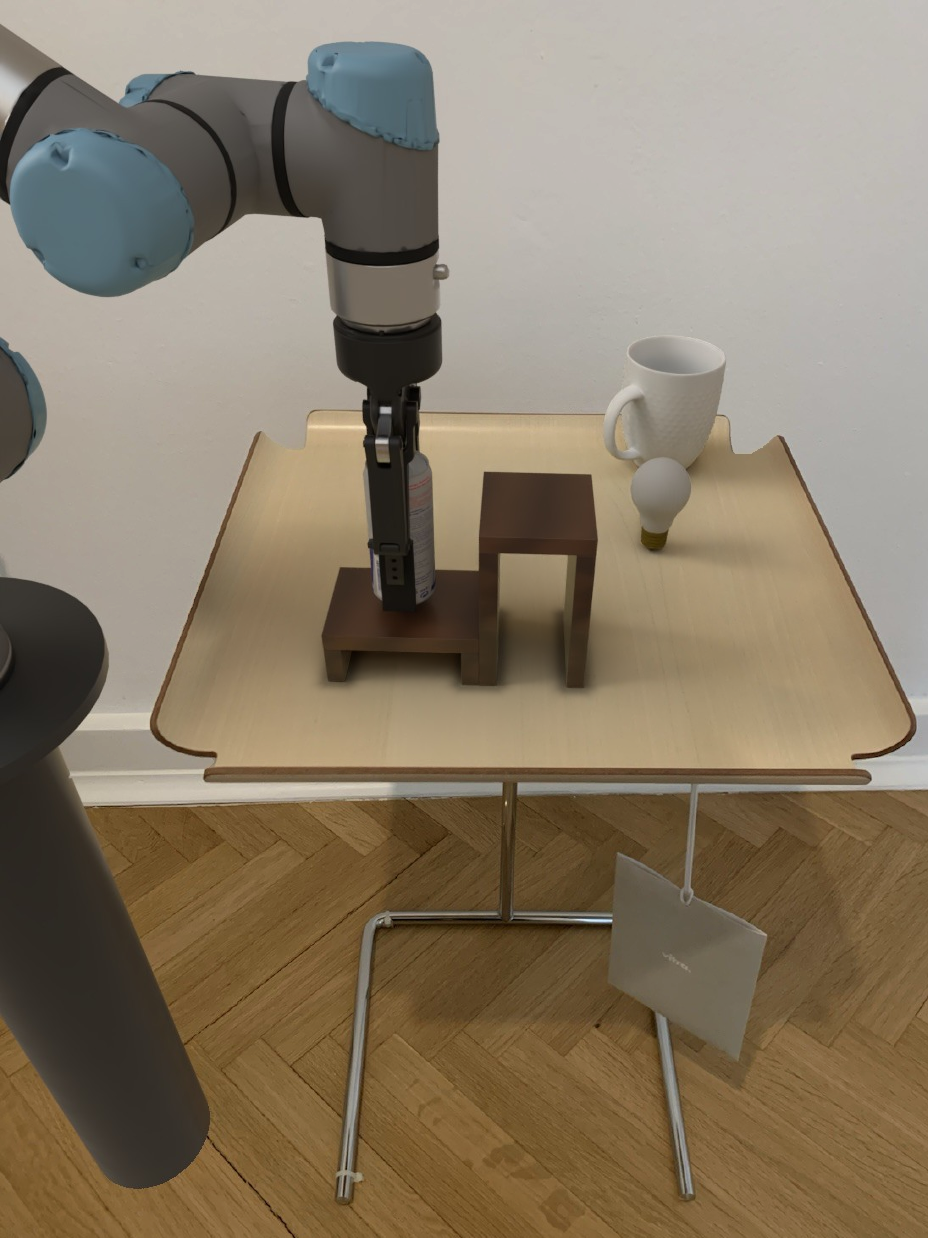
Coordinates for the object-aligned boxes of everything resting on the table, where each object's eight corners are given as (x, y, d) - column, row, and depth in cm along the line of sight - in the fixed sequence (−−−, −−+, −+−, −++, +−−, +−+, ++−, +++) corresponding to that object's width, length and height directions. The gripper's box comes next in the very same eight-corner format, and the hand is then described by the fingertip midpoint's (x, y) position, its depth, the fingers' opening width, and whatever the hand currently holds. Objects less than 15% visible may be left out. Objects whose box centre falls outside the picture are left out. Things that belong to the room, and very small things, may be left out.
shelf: (327, 681, 81) (306, 532, 71) (344, 610, 88) (327, 467, 79) (583, 688, 81) (597, 539, 71) (579, 617, 88) (591, 473, 79)
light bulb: (676, 568, 95) (691, 480, 88) (618, 558, 96) (628, 470, 89) (684, 538, 99) (699, 451, 92) (629, 529, 100) (639, 442, 94)
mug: (634, 505, 104) (647, 392, 95) (570, 465, 110) (577, 356, 102) (727, 467, 111) (748, 358, 102) (662, 431, 117) (676, 326, 109)
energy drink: (412, 564, 83) (406, 440, 76) (448, 593, 80) (445, 466, 72) (360, 585, 81) (348, 459, 73) (395, 616, 78) (386, 487, 70)
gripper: (430, 369, 58) (439, 657, 74) (449, 270, 72) (454, 530, 87) (309, 365, 58) (343, 654, 74) (351, 267, 72) (373, 527, 87)
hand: (403, 586), depth 80 cm, fingers closed on energy drink, 5 cm apart
